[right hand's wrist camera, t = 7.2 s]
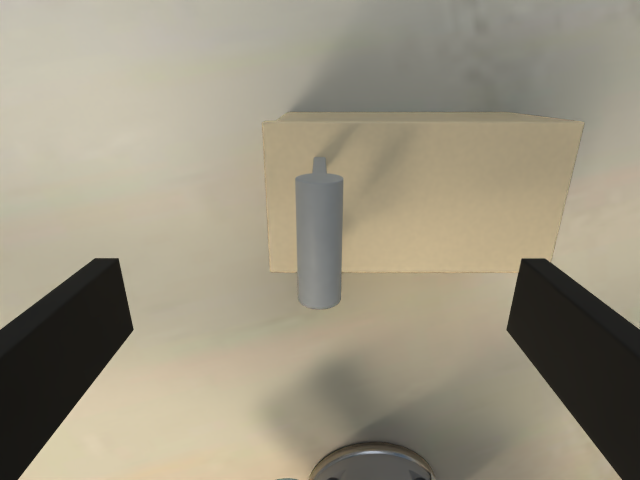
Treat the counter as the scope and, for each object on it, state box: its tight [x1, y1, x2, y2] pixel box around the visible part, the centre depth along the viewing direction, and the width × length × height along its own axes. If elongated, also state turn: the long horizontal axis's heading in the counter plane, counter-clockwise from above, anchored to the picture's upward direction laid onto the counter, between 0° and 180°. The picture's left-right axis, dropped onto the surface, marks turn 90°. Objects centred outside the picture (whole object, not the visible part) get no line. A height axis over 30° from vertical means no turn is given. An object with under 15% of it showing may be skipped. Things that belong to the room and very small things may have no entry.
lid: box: [262, 121, 584, 309], centre depth 20 cm, size 18×9×8 cm, turn 90°
